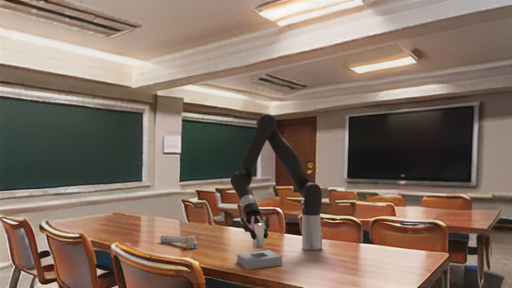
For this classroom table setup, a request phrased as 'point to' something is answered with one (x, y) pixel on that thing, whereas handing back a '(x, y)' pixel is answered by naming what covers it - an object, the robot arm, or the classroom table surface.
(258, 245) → the steel bushing
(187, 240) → the grey elongated piece
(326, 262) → the classroom table surface
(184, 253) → the classroom table surface
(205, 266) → the classroom table surface
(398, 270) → the classroom table surface
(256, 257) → the jig plate
